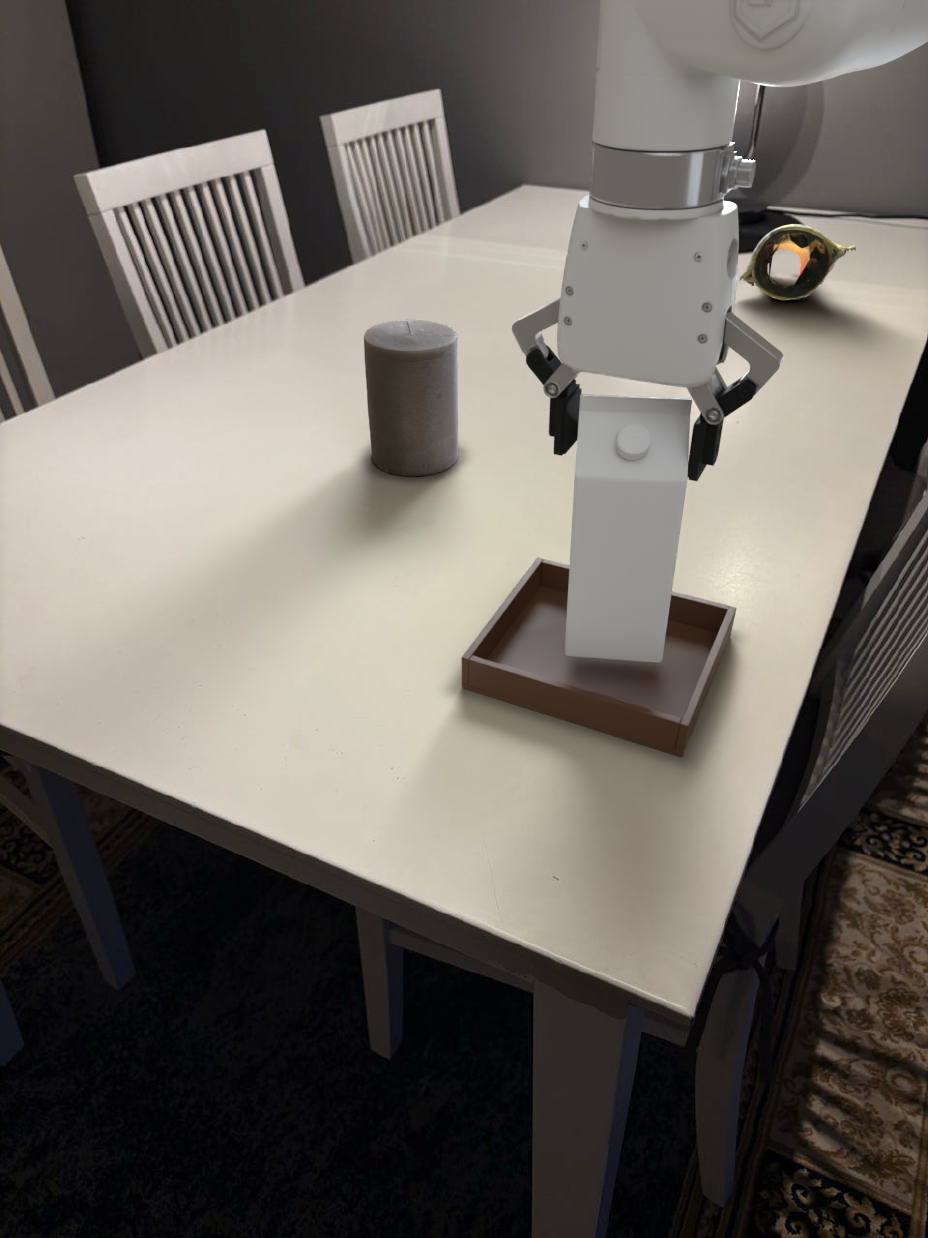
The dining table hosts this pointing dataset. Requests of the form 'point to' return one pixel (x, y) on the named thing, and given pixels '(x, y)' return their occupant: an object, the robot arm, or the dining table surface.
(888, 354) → the dining table surface
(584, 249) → the robot arm
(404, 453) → the pillar candle
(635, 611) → the milk carton
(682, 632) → the tray
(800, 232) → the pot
